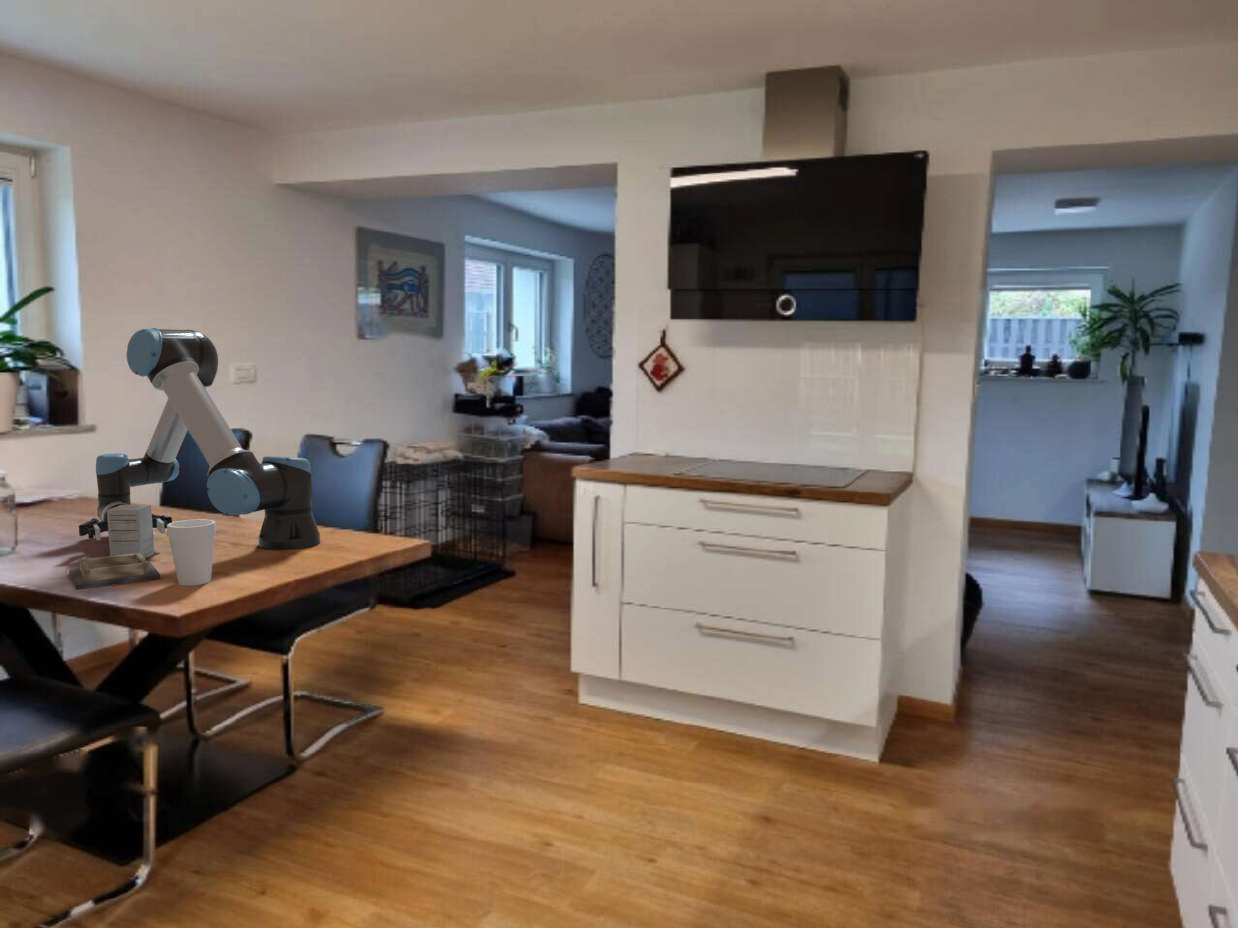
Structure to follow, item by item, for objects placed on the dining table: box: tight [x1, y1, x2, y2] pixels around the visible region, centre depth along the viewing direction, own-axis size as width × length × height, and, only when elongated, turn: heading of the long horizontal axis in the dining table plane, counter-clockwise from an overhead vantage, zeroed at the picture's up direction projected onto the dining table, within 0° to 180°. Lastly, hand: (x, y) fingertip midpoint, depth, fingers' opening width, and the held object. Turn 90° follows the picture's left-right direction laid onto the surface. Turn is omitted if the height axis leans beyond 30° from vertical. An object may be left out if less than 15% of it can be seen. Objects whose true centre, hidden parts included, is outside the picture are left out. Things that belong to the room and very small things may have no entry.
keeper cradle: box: [68, 553, 162, 591], centre depth 192 cm, size 16×16×4 cm
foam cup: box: [166, 518, 217, 587], centre depth 188 cm, size 10×9×13 cm
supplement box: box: [107, 504, 155, 560], centre depth 210 cm, size 7×7×13 cm
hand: (131, 531), depth 208 cm, fingers open, 13 cm apart
